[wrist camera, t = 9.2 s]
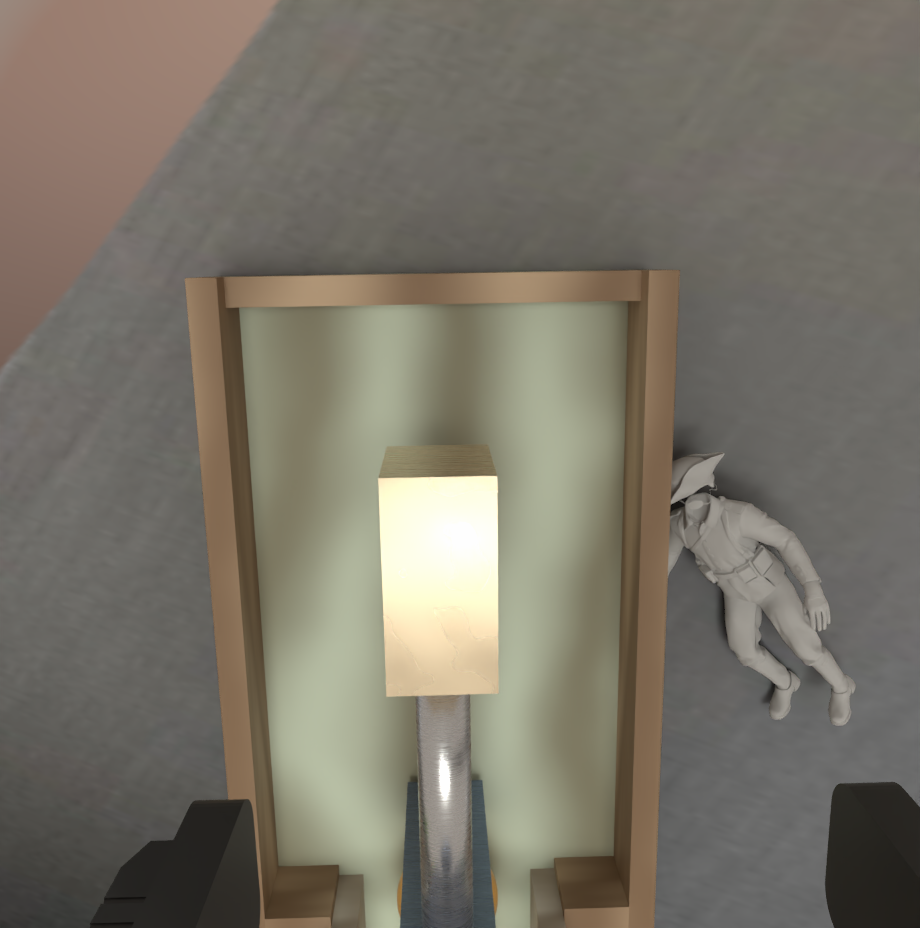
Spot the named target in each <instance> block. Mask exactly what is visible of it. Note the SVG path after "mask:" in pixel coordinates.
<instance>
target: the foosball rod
mask: <svg viewBox="0 0 920 928" xmlns="http://www.w3.org/2000/svg"><path fill="white" fill-rule="evenodd" d="M378 485H379V511H380V538H381V565H382V591H383V618H384V645H385V672H386V697H395V696H415V699H416V733H417V767H418V782H408V786H407V805H406V824H405V842H404V861H403V880H402V899H401V917H400V928H496V924H495V913H494V902H493V891H492V880H491V869H490V858H489V847H488V836H487V825H486V814H485V804H484V793H483V782H482V780H471V720H470V694H499V668H498V510H497V473H496V470H495V466H494V463H493V460H492V456H491V453H490V450H489V446H488V444H478V445H430V446H387V448H386V451H385V455H384V459H383V463H382V466H381V470H380V474H379V478H378Z"/></svg>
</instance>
